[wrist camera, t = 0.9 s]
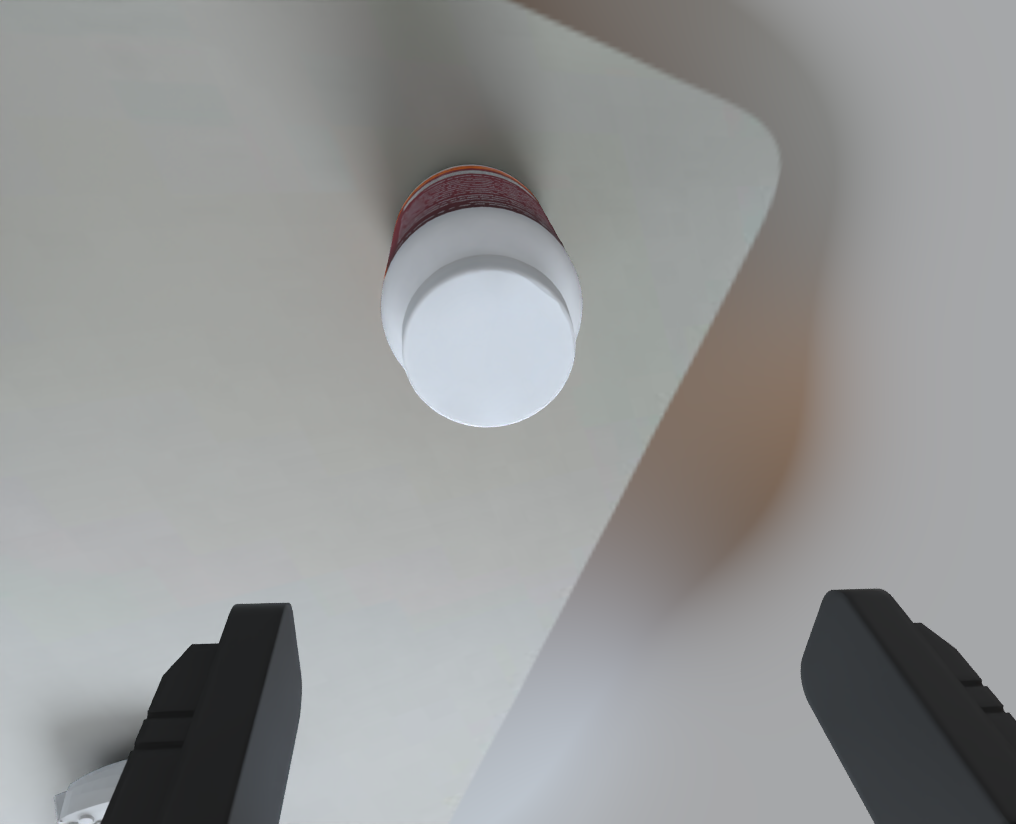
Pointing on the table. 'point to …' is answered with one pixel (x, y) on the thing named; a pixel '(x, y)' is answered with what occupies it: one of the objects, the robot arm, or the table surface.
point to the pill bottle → (480, 298)
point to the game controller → (88, 796)
